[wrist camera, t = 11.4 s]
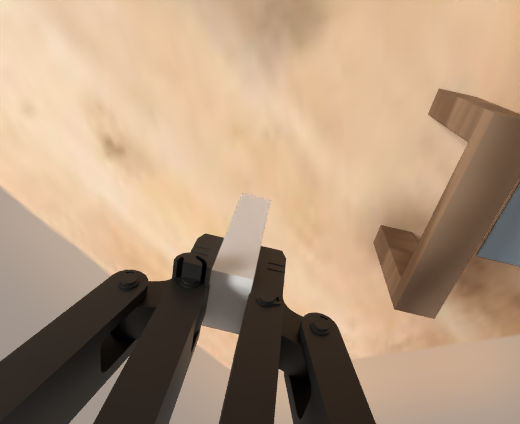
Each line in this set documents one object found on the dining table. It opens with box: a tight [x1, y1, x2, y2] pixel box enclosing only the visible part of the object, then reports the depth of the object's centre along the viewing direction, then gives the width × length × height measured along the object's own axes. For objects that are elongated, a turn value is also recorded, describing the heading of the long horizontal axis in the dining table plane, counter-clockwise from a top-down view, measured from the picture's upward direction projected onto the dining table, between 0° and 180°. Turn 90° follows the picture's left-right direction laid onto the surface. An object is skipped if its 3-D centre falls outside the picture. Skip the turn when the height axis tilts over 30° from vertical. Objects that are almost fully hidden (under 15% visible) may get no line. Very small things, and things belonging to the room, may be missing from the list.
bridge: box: [374, 89, 520, 319], centre depth 27 cm, size 3×14×9 cm, turn 168°
